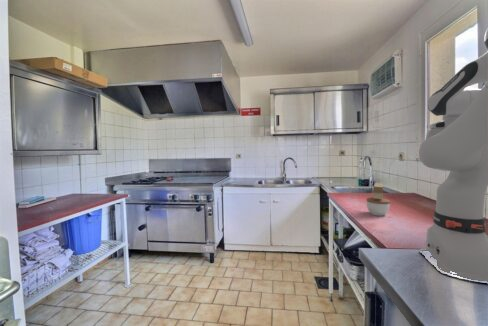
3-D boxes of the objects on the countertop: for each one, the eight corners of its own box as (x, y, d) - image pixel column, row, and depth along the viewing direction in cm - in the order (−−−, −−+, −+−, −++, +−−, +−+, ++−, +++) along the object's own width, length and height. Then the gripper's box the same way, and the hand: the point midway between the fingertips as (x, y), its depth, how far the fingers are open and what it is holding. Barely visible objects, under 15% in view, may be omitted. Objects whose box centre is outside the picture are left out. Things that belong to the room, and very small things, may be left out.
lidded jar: (392, 217, 121) (393, 199, 120) (369, 216, 123) (370, 198, 122) (385, 212, 131) (385, 194, 130) (363, 210, 133) (364, 194, 133)
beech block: (382, 199, 120) (383, 187, 120) (373, 198, 122) (373, 186, 122) (382, 194, 130) (383, 183, 130) (374, 194, 132) (374, 183, 132)
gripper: (484, 123, 104) (481, 155, 105) (425, 125, 113) (423, 155, 114) (490, 122, 98) (488, 156, 99) (428, 124, 108) (426, 155, 109)
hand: (453, 155), depth 107 cm, fingers open, 8 cm apart
